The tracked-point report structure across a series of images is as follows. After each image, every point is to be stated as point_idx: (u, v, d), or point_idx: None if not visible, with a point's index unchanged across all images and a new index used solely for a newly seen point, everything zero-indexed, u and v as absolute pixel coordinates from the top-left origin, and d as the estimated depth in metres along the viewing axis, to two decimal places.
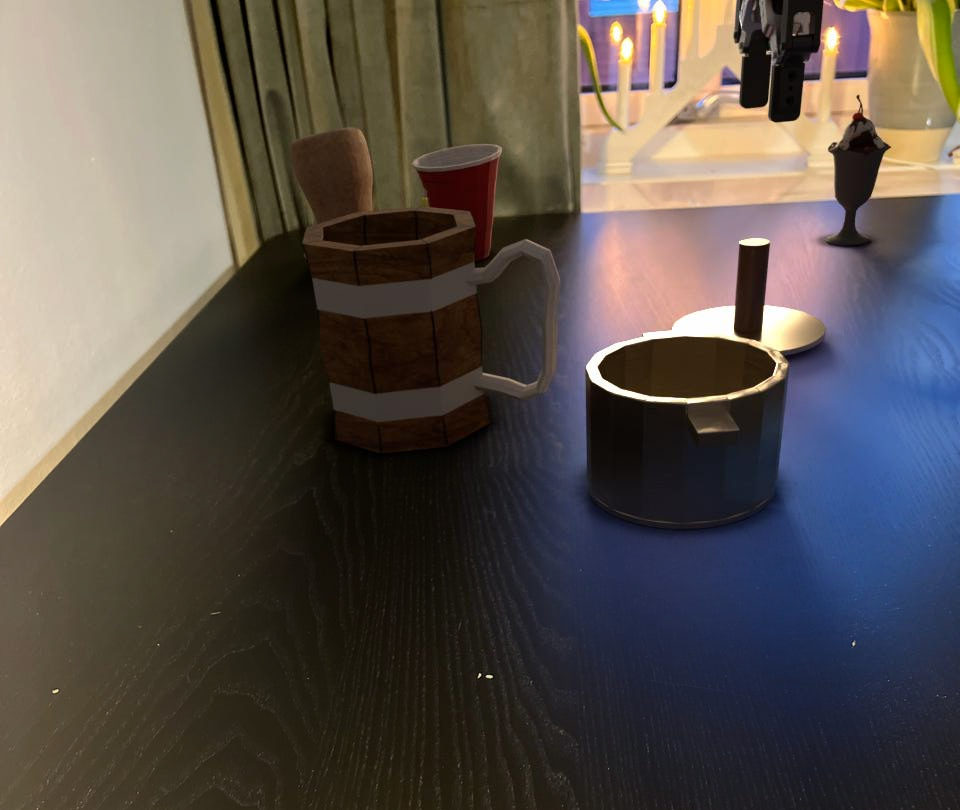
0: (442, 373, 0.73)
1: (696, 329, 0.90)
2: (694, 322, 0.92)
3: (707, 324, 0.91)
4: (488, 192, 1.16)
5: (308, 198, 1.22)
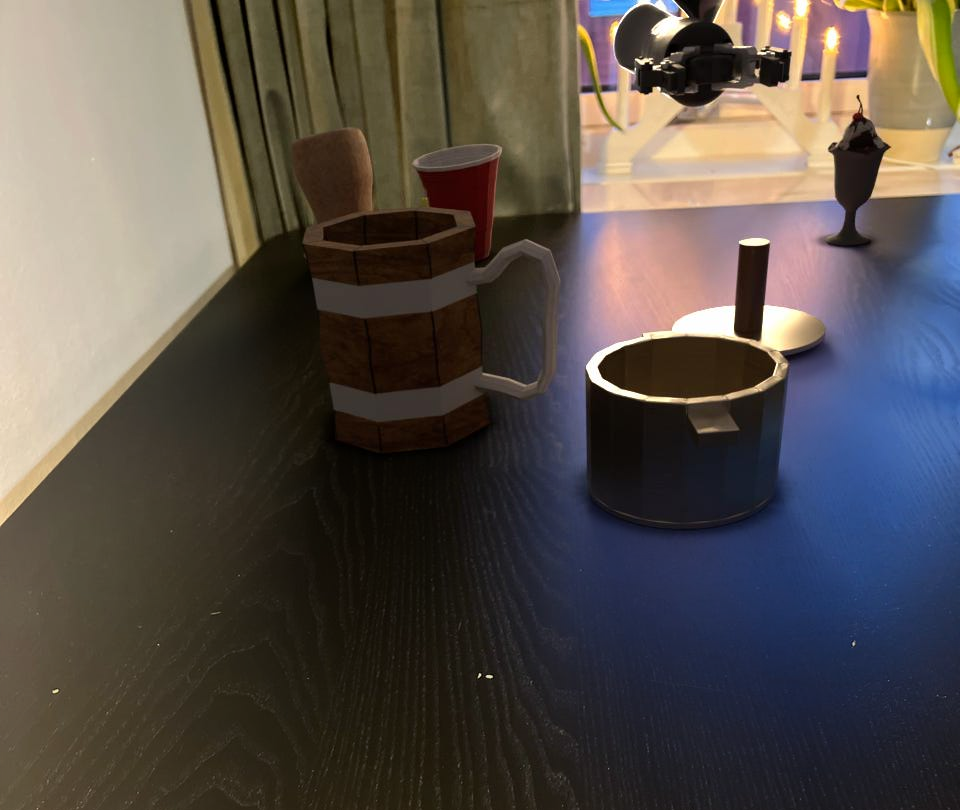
0: (442, 373, 0.73)
1: (696, 329, 0.90)
2: (694, 322, 0.92)
3: (707, 324, 0.91)
4: (488, 192, 1.16)
5: (308, 198, 1.22)
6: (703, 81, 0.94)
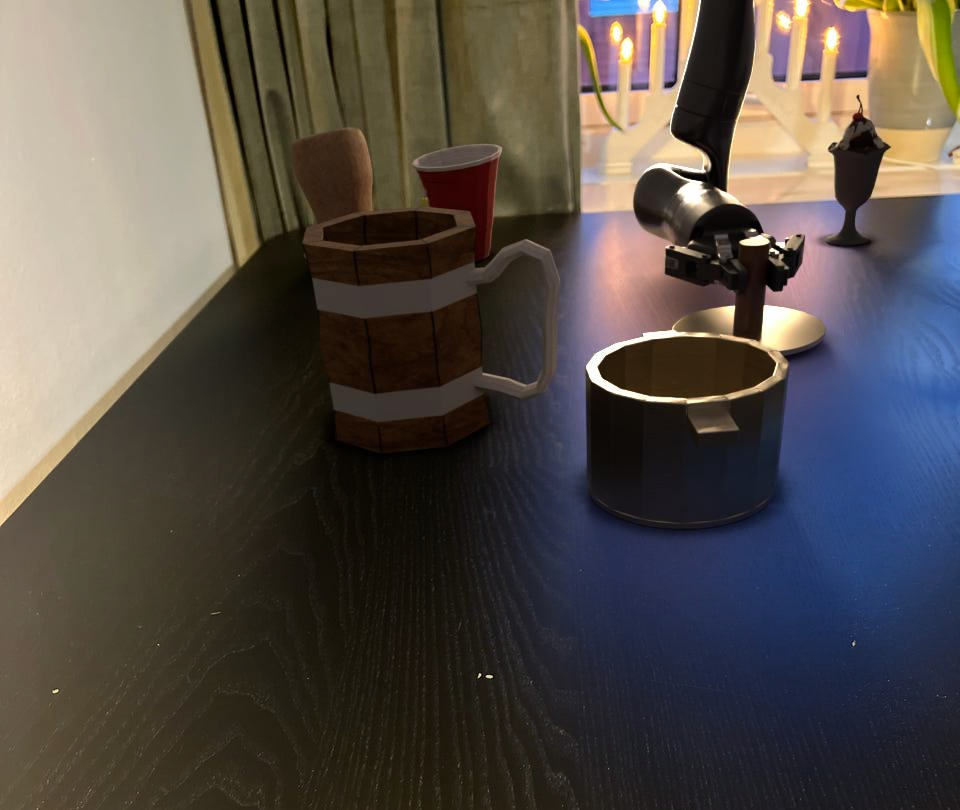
0: (442, 373, 0.73)
1: (696, 329, 0.90)
2: (694, 322, 0.92)
3: (707, 324, 0.91)
4: (488, 192, 1.16)
5: (308, 198, 1.22)
6: None
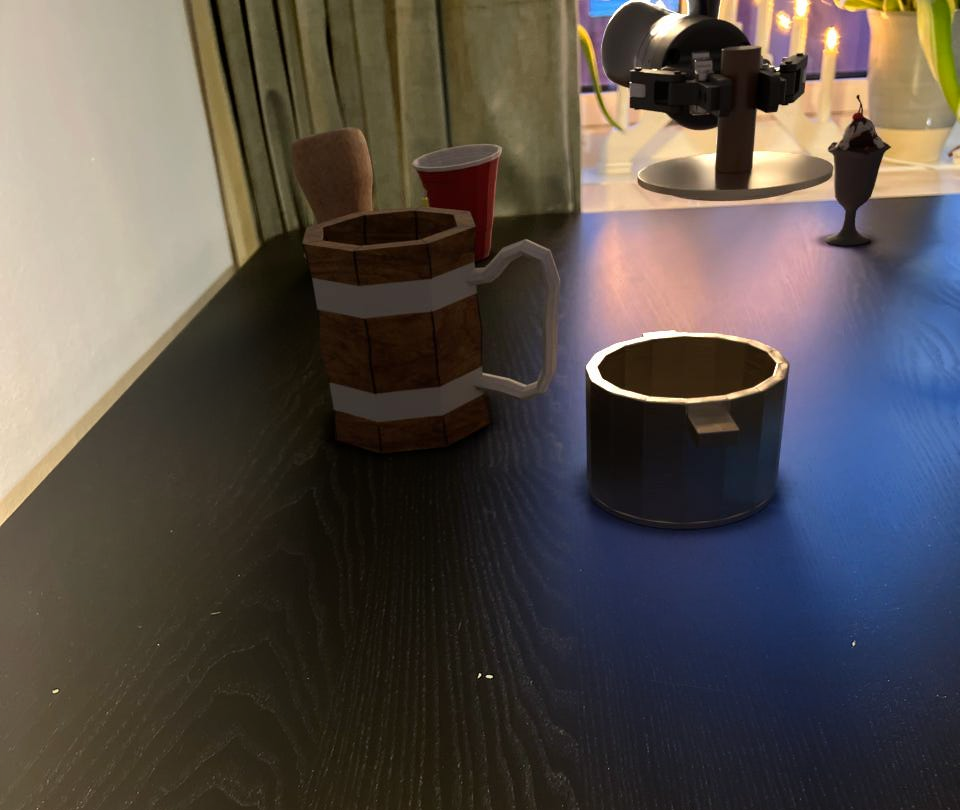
0: (442, 373, 0.73)
1: (668, 173, 0.71)
2: (666, 167, 0.73)
3: (682, 168, 0.72)
4: (488, 192, 1.16)
5: (308, 198, 1.22)
6: None
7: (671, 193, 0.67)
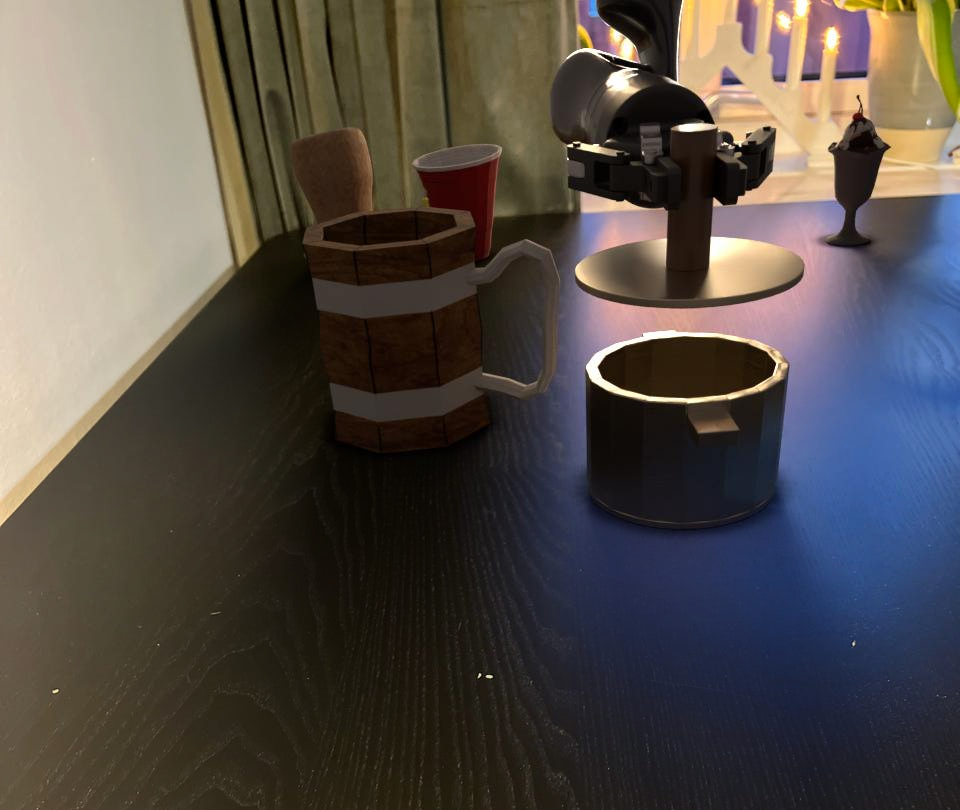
0: (442, 373, 0.73)
1: (610, 268, 0.60)
2: (610, 259, 0.62)
3: (628, 261, 0.61)
4: (488, 192, 1.16)
5: (308, 198, 1.22)
6: None
7: (611, 299, 0.56)
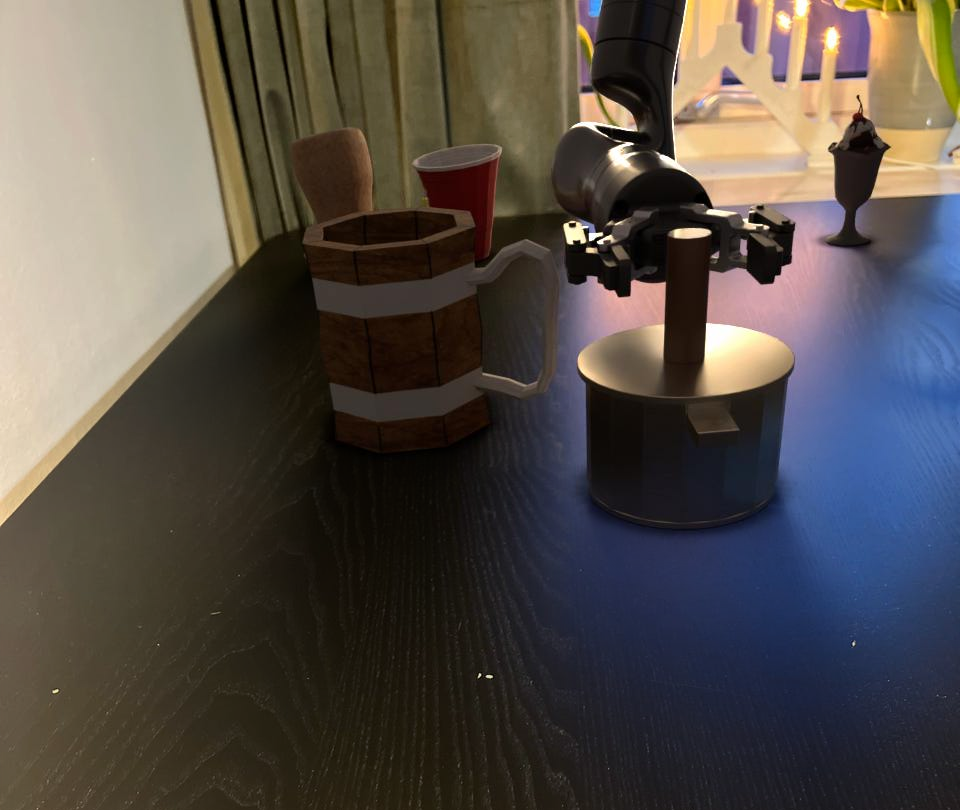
0: (442, 373, 0.73)
1: (611, 358, 0.63)
2: (610, 348, 0.65)
3: (628, 351, 0.64)
4: (488, 192, 1.16)
5: (308, 198, 1.22)
6: (663, 262, 0.63)
7: (611, 394, 0.59)
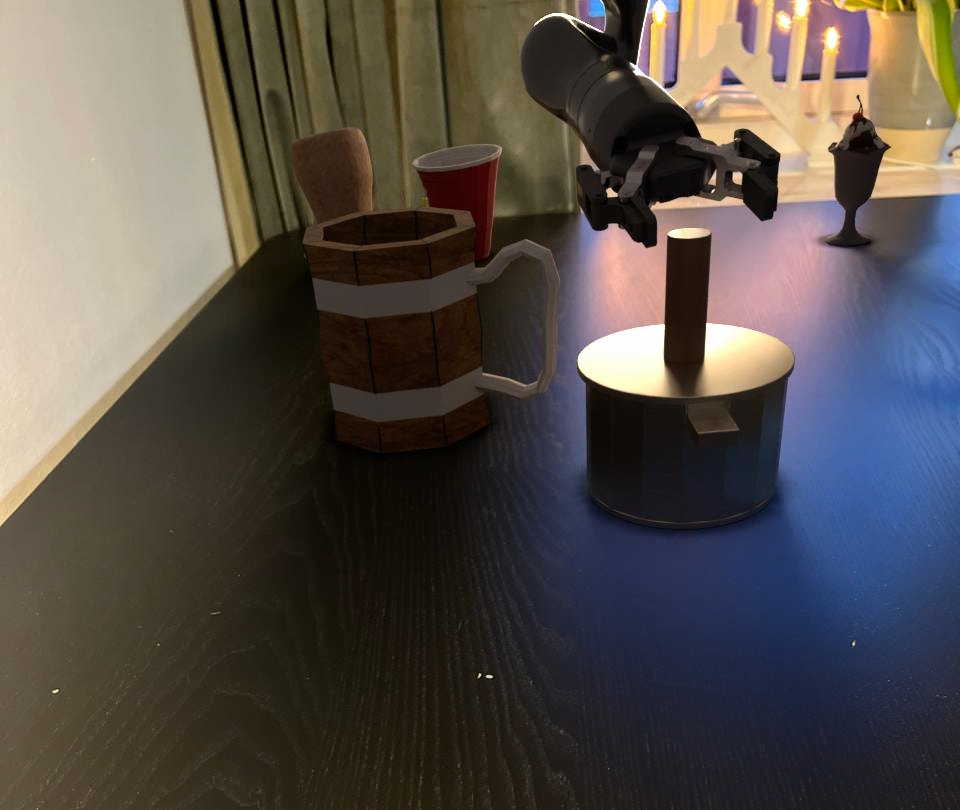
0: (442, 373, 0.73)
1: (611, 358, 0.63)
2: (610, 348, 0.65)
3: (628, 351, 0.64)
4: (488, 192, 1.16)
5: (308, 198, 1.22)
6: (669, 198, 0.73)
7: (611, 394, 0.59)
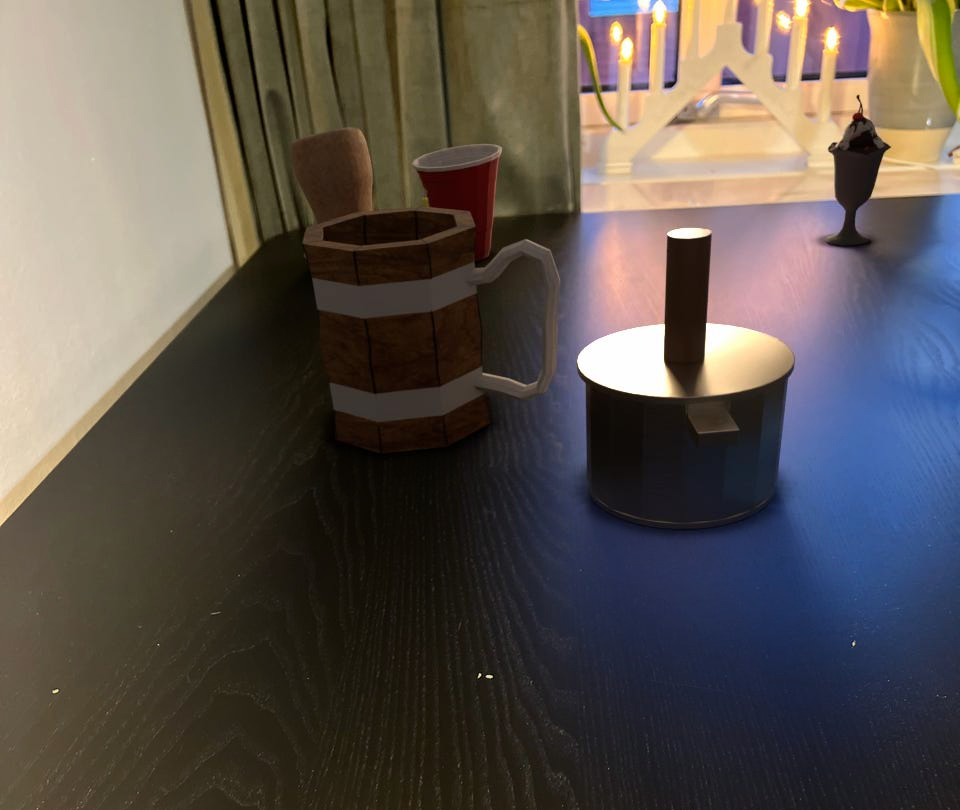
0: (442, 373, 0.73)
1: (611, 358, 0.63)
2: (610, 348, 0.65)
3: (628, 351, 0.64)
4: (488, 192, 1.16)
5: (308, 198, 1.22)
6: None
7: (611, 394, 0.59)
